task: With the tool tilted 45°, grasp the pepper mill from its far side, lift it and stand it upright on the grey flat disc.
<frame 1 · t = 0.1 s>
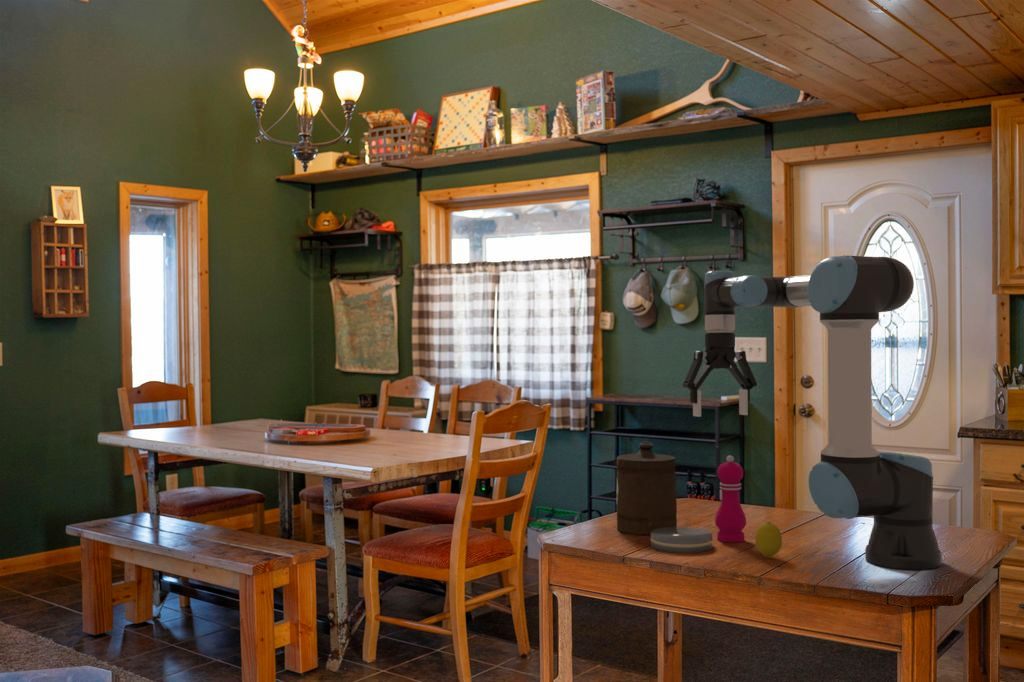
hand: (720, 415, 249), 28 cm above the table, tool pointing down, fingers open, 13 cm apart
lemon: (768, 559, 213), on the table
grey flat disc: (681, 545, 226), on the table
pepper mill: (730, 540, 232), on the table
wooden container: (646, 530, 245), on the table
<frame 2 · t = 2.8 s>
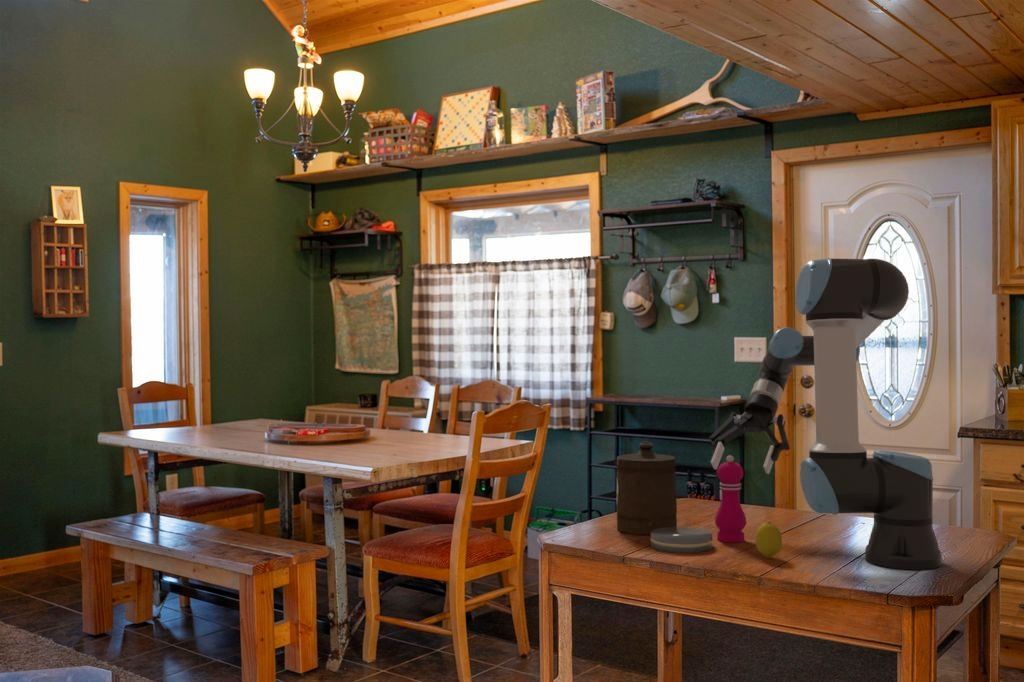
hand: (739, 468, 237), 16 cm above the table, tool tilted 45°, fingers open, 13 cm apart
nothing on the table moved.
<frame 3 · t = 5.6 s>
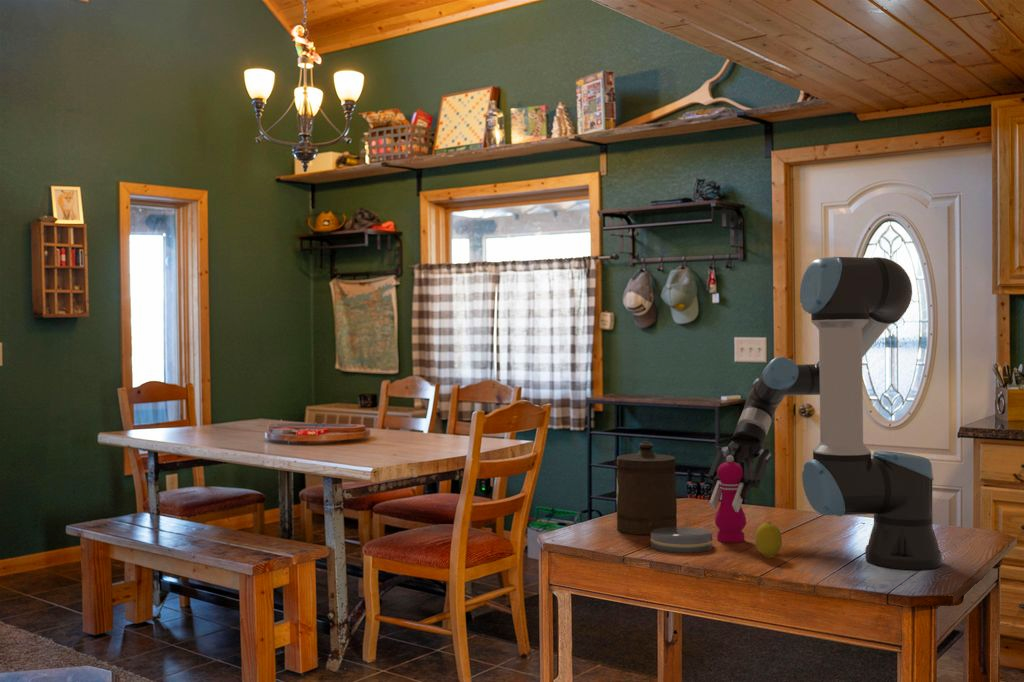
hand: (723, 507, 229), 8 cm above the table, tool tilted 45°, fingers closed on pepper mill, 5 cm apart
pepper mill: (730, 540, 232), on the table, touching gripper
everything else where it was.
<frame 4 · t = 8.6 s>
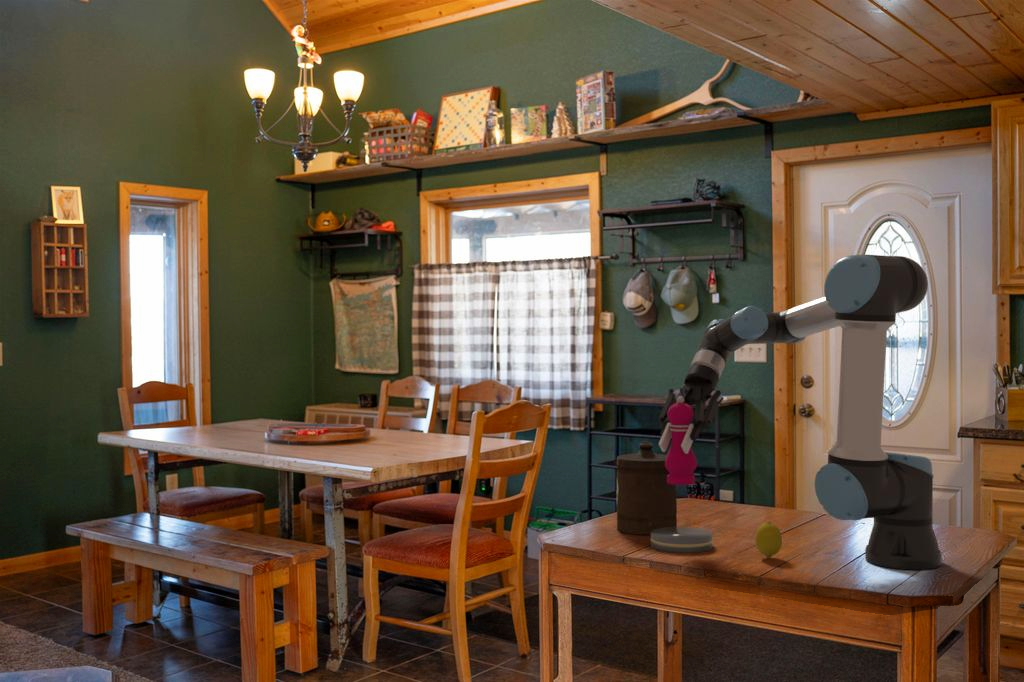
hand: (673, 448, 223), 23 cm above the table, tool tilted 45°, fingers closed on pepper mill, 5 cm apart
pepper mill: (681, 483, 226), point 14 cm above the table, touching gripper
everything else where it was.
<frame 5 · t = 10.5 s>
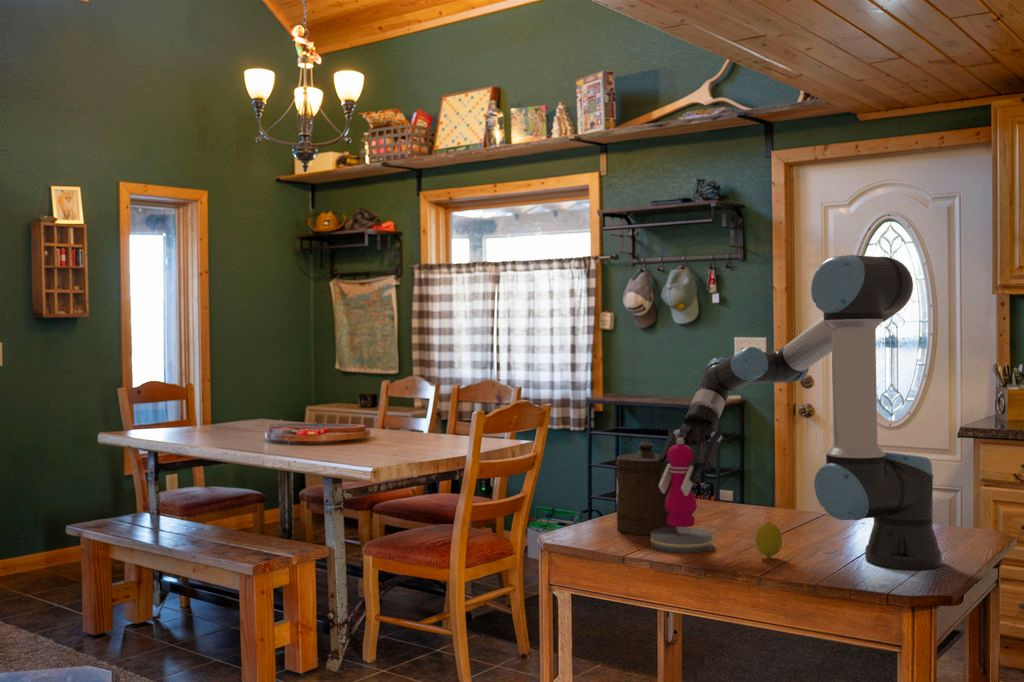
hand: (672, 490, 223), 13 cm above the table, tool tilted 45°, fingers closed on pepper mill, 5 cm apart
pepper mill: (680, 525, 226), point 5 cm above the table, touching gripper
everything else where it was.
when the fingers open (12 cm above the table, at t = 12.0 s): pepper mill stays where it is, resting on grey flat disc.
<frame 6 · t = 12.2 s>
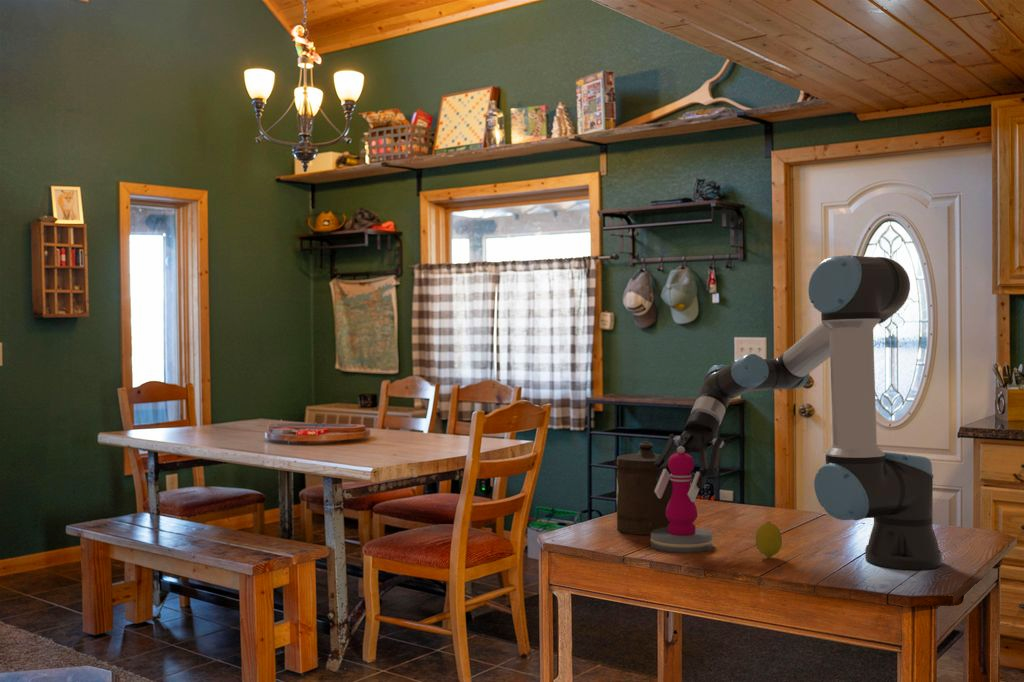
hand: (674, 496, 223), 12 cm above the table, tool tilted 45°, fingers open, 8 cm apart
pepper mill: (681, 533, 226), point 3 cm above the table, touching grey flat disc
everything else where it was.
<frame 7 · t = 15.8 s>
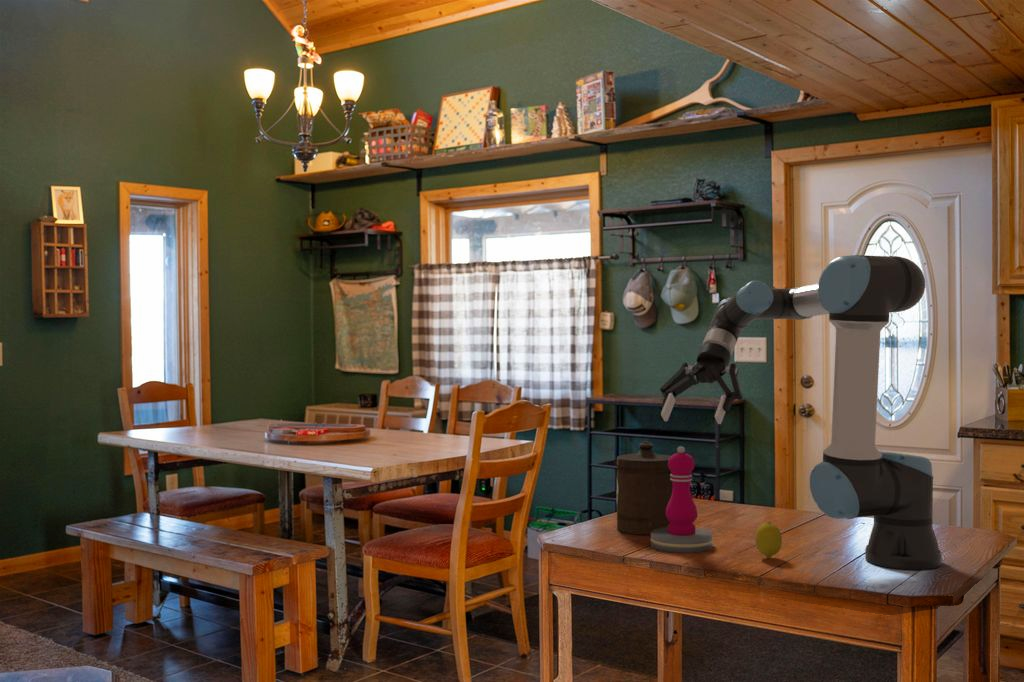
hand: (690, 419, 228), 29 cm above the table, tool tilted 45°, fingers open, 13 cm apart
nothing on the table moved.
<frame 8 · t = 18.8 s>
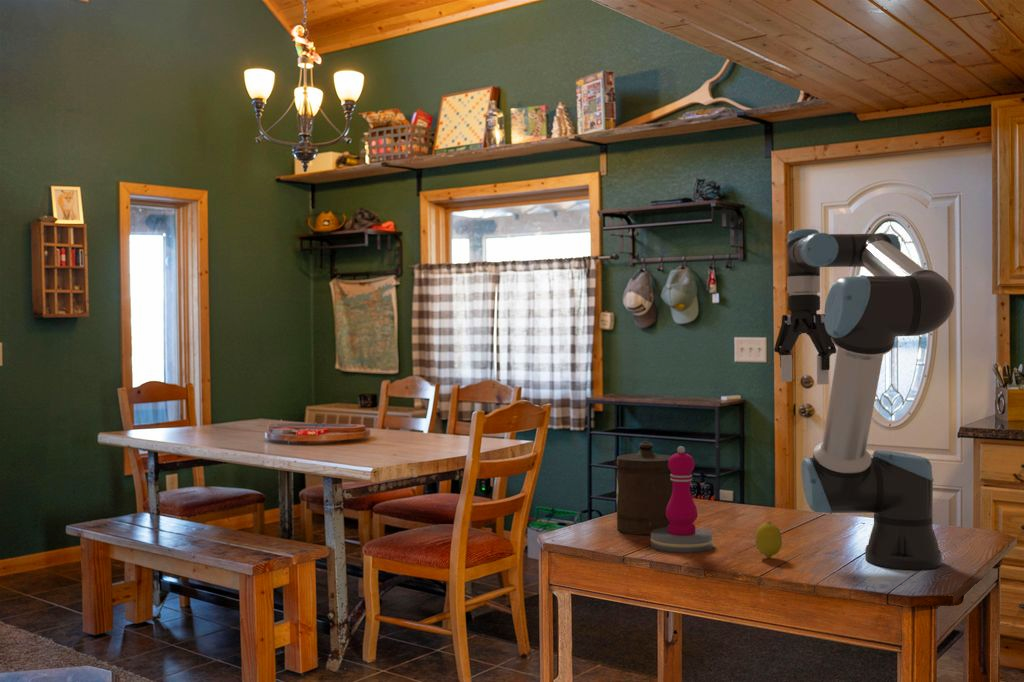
hand: (804, 383, 235), 37 cm above the table, tool pointing down, fingers open, 13 cm apart
nothing on the table moved.
at the end: pepper mill 0.1 cm from the grey flat disc (horizontally); pepper mill tilted 0°; pepper mill touching grey flat disc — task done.
